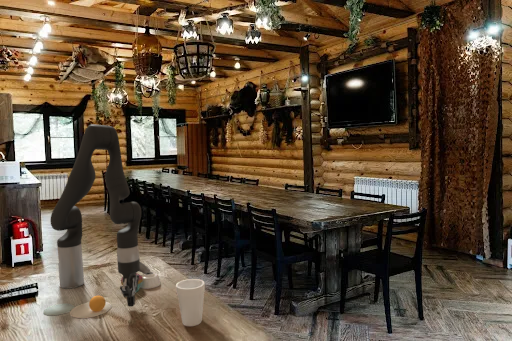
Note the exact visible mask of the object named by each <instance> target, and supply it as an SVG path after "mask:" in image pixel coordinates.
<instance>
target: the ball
mask: <svg viewBox="0 0 512 341" xmlns="http://www.w3.org/2000/svg"><path fill="white" fill-rule="evenodd" d="M88 302H89V307H90V309H91V310H93V311H95V312H98V311H101V310H102V309H103V308H104V307H105V304H106V302H107V301H106V298H104V296H102V295H95V296H93V297H91V299H90V300H89V301H88Z"/></svg>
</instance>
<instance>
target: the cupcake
mask: <svg viewBox="0 0 512 341" xmlns="http://www.w3.org/2000/svg"><path fill="white" fill-rule="evenodd" d="M136 275H139V280H138V286H137V291H135V293H137V292H139V290H140V288H139V287H140V284H141V282H143V278H142V276H141V275H142V274H139V273H138V272H136ZM122 279H123V276H122V277H121V278H120V284H121V286H123V282H122Z"/></svg>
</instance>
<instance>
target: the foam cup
mask: <svg viewBox="0 0 512 341" xmlns="http://www.w3.org/2000/svg"><path fill="white" fill-rule="evenodd" d="M205 290H206V284H205V281H204V280H202V279H199V278H188V279H182V280H180V281H178V282H177V283H176V284H175V292H176V293H175V294H177V296H176V297H177V299H178V306H179V312H180V317H181V322H182V325H183V326H185V327H194V326H199V324H201V323H202V320H203V310H204V309H203V308H204V299H205V298H204V297H205Z"/></svg>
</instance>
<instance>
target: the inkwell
mask: <svg viewBox="0 0 512 341" xmlns="http://www.w3.org/2000/svg"><path fill="white" fill-rule="evenodd" d="M138 272H140V273H142V274H140V275H141V276H142V278H143V282H141V284H140V287H139V289H144V290H147V289H149V290H150V289H155V288H157V287H159V286H160V285H161V279H160V277H159V274H158V273H157V272H155V271H152V270H151V269H150V268H149V266H147V265H146V264H145V263H142V262H141V261H140V270H139V271H138Z"/></svg>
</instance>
